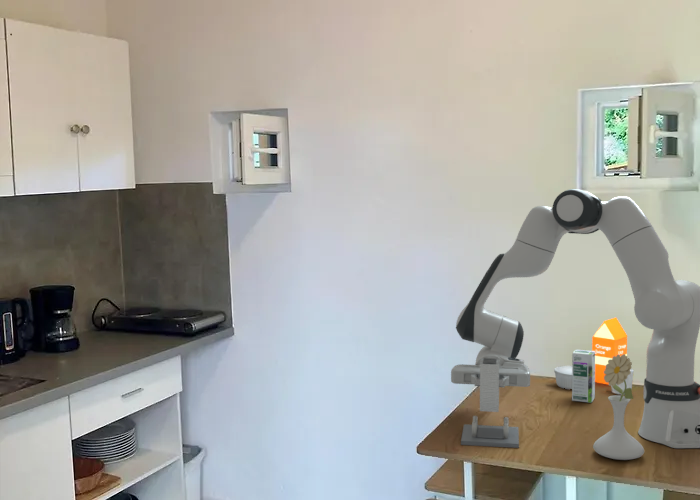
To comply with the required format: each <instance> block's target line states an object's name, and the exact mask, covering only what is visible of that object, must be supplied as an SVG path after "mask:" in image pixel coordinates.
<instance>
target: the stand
mask: <svg viewBox="0 0 700 500" xmlns="http://www.w3.org/2000/svg"><path fill="white" fill-rule="evenodd" d="M478 418H479V417H478V416H477V415H472V422H471V424H465V423H464V424H463V427H462V434H461V439H460V446H476V447H478V446H479V447H495V448H496V447H499V448H515V449H519V448H520V436H519V433H520V431H519V426H509V424H510V423H509V422H510V421H509V417H508V416H505V417H503V425H484V424H478V423H479V422H478V421H479V420H478Z"/></svg>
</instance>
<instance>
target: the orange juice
mask: <svg viewBox="0 0 700 500" xmlns="http://www.w3.org/2000/svg"><path fill="white" fill-rule="evenodd" d="M591 339H592V340H591V341H592V343H591V345H592V347H591V351H595V383H597V384H604V385H608V386H609V384H608V383H609V382H608V383H606V382H605V380H604V376H605V375H606V374H604V371H605V368H606V365H607V364H608V360H610V359H611V360H612V358H613V356H617V355H618V354H619V355H620V357H621V355H623V354H625V356H627V357H628V335H627V333H626V331H625V330H624V328H623V326H622V324H621V323H620V321H619V320H618V318H617V317H613V318H610V319H606V320H604V321H603V322H602V324H601V325H600V326H599V327H598V329H597V330H596V332H595V333H594V334H593V336H592V338H591Z"/></svg>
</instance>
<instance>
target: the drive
mask: <svg viewBox="0 0 700 500" xmlns="http://www.w3.org/2000/svg"><path fill="white" fill-rule="evenodd" d="M499 407H500V387H499V359H492V358H481V362H480V386H479V412H488V413H489V412H491V413H492V412H493V413H499V409H500V408H499Z"/></svg>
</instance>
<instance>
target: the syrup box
mask: <svg viewBox="0 0 700 500" xmlns="http://www.w3.org/2000/svg"><path fill="white" fill-rule="evenodd" d="M571 356H572V357H571V359H572V362H571V366H572V390H571V401H572V402H582V403H588V404H589V403H590V404H592V403H593V401H594V399H595V397H596V395H595V394H596V392H595V391H596V382H595V351H592V350H586V349H585V350H583V349H575V350H573V352H572V355H571Z"/></svg>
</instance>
